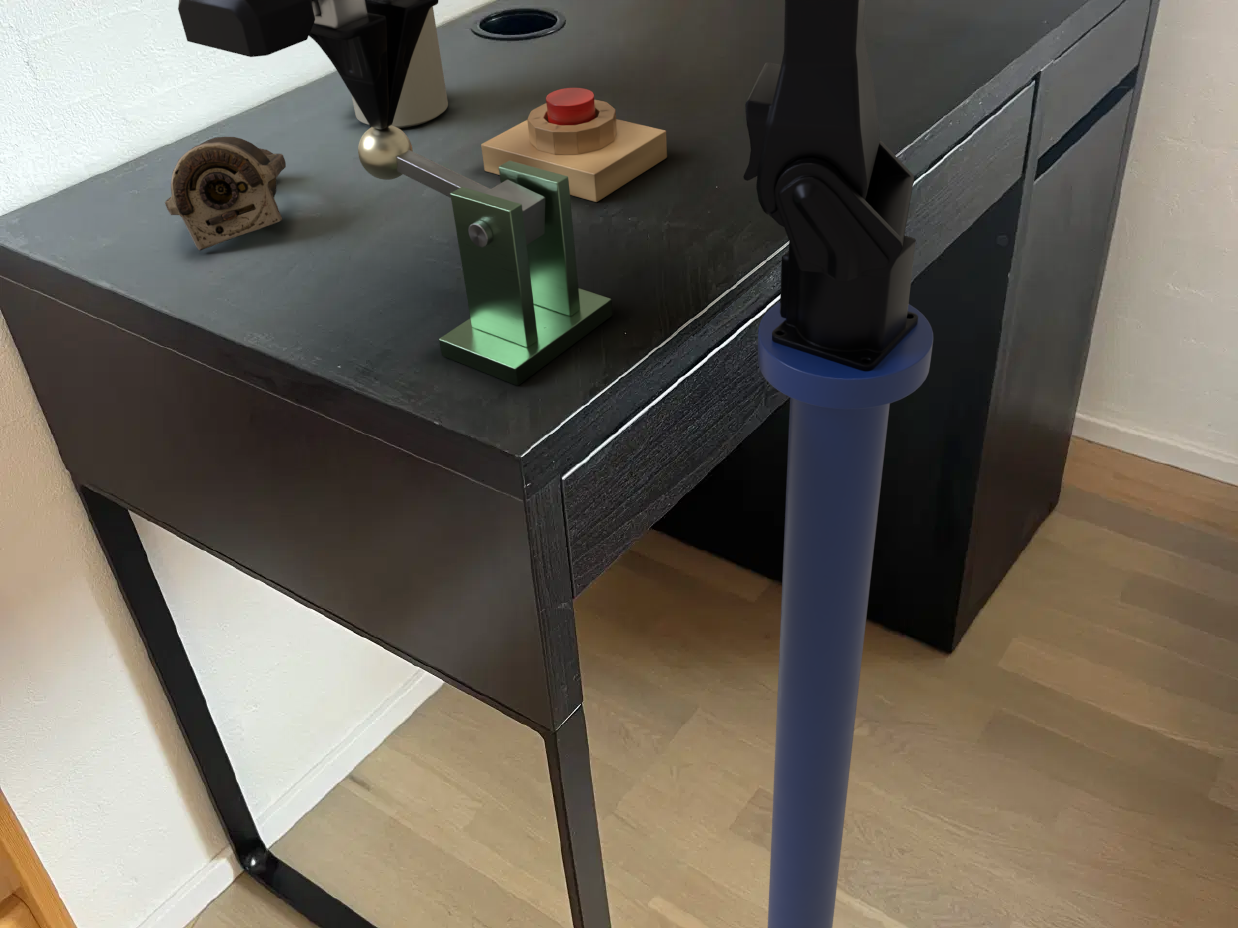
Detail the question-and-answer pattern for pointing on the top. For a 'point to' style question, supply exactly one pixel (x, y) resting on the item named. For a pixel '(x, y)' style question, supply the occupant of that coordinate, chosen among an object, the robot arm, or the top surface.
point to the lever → (440, 175)
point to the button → (570, 106)
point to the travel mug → (420, 82)
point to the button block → (580, 150)
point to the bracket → (519, 280)
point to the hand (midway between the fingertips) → (381, 126)
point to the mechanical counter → (225, 190)
